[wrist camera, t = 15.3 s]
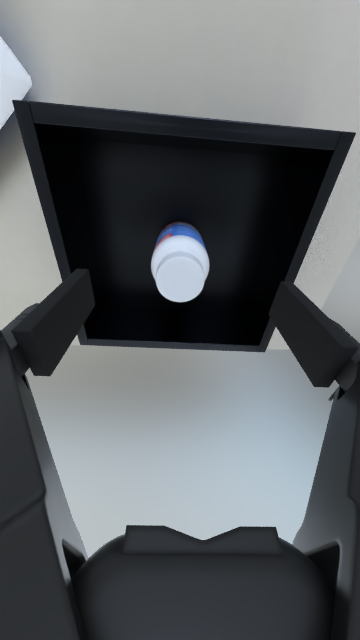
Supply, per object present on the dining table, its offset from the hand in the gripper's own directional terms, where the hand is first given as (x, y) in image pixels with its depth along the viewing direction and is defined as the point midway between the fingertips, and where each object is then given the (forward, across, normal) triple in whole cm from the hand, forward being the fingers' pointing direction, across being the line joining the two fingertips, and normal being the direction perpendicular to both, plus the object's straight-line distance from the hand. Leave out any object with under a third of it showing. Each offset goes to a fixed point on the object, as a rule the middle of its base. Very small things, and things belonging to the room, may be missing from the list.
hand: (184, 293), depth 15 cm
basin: (+13, 0, 0) cm, 13 cm away
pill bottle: (+12, 0, 0) cm, 12 cm away
